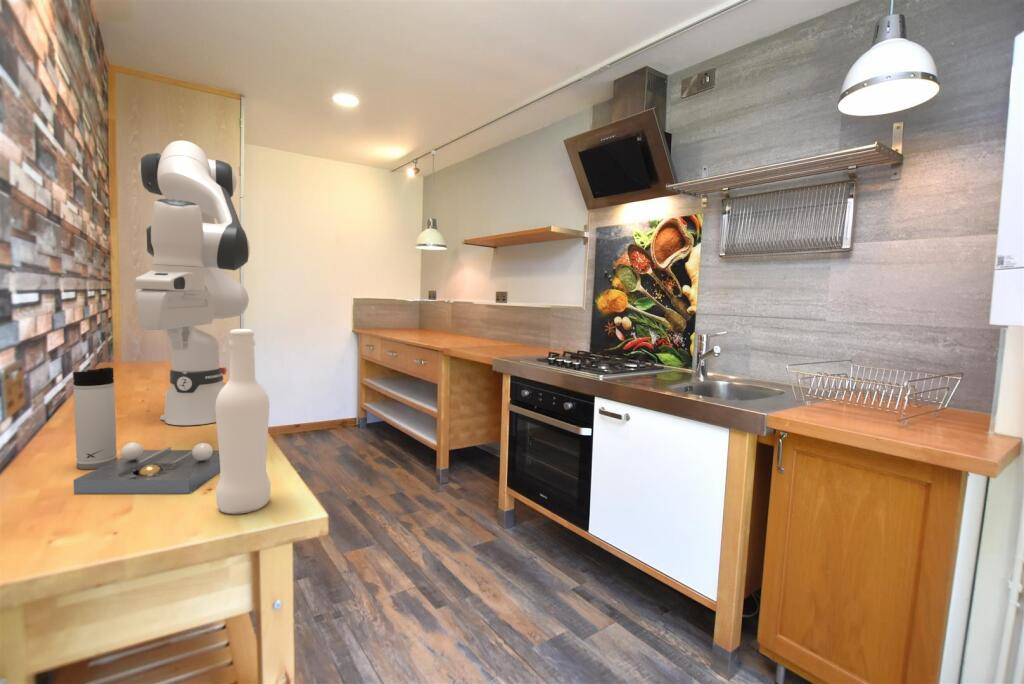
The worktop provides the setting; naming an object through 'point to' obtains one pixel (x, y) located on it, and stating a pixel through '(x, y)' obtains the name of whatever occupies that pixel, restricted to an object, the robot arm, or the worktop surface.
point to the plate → (173, 478)
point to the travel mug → (94, 418)
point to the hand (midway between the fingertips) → (180, 349)
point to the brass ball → (149, 469)
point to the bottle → (242, 432)
